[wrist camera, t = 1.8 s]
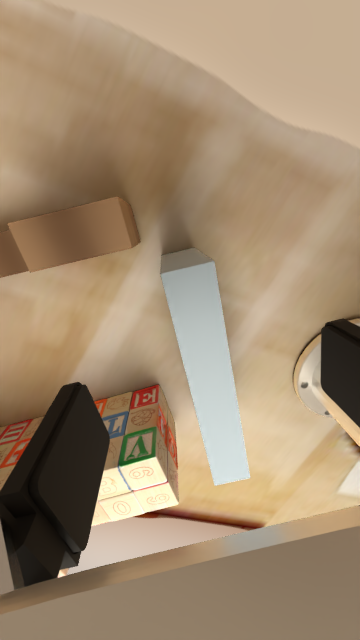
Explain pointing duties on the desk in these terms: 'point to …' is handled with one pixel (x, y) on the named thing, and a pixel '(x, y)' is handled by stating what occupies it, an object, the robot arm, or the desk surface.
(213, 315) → the blue board
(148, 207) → the desk surface
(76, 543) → the robot arm
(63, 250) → the brown wooden block
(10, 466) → the stack of blocks
